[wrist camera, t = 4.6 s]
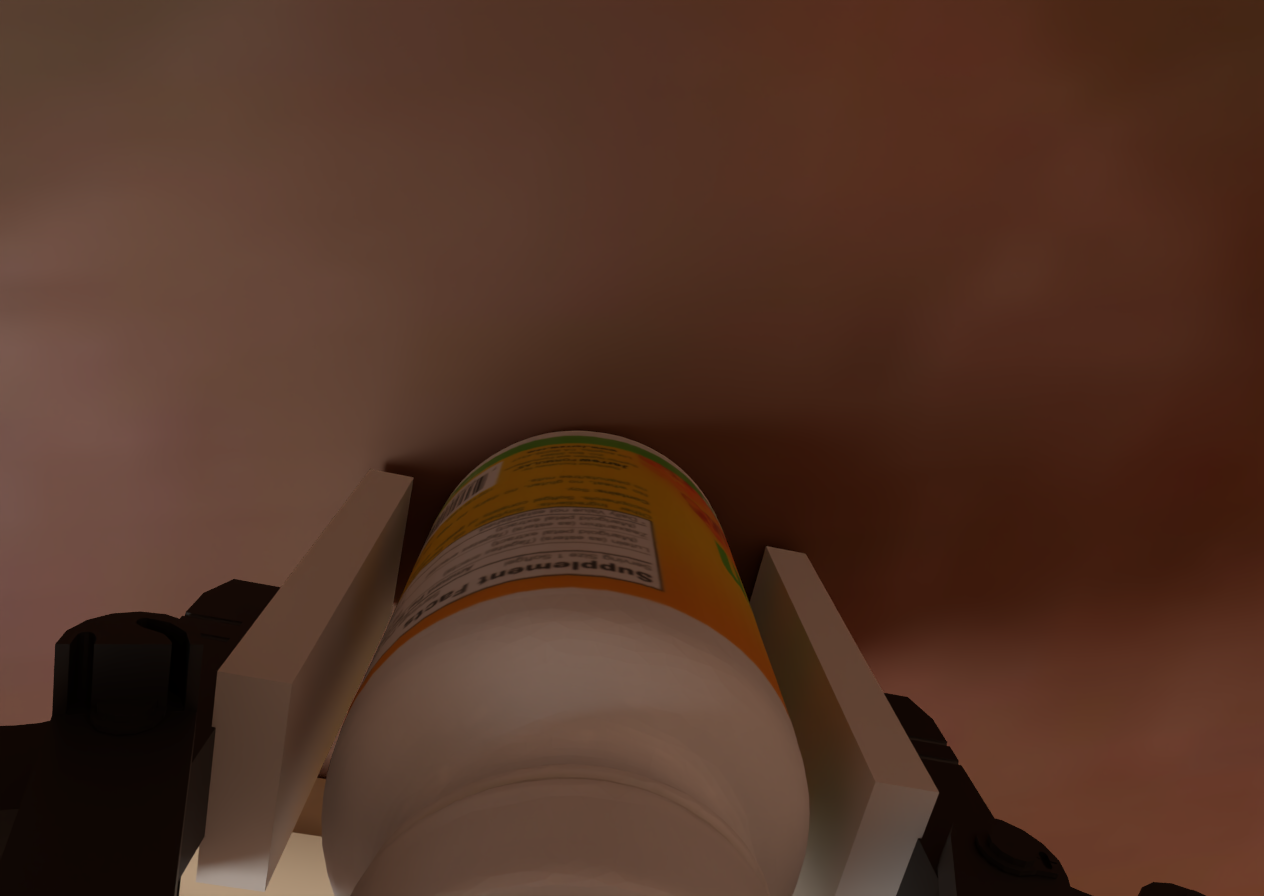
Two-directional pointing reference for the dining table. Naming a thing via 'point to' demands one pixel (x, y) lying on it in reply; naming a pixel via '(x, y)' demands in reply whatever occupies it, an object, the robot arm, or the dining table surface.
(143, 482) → the dining table surface
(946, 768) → the robot arm
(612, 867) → the supplement bottle
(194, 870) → the board
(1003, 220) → the dining table surface
